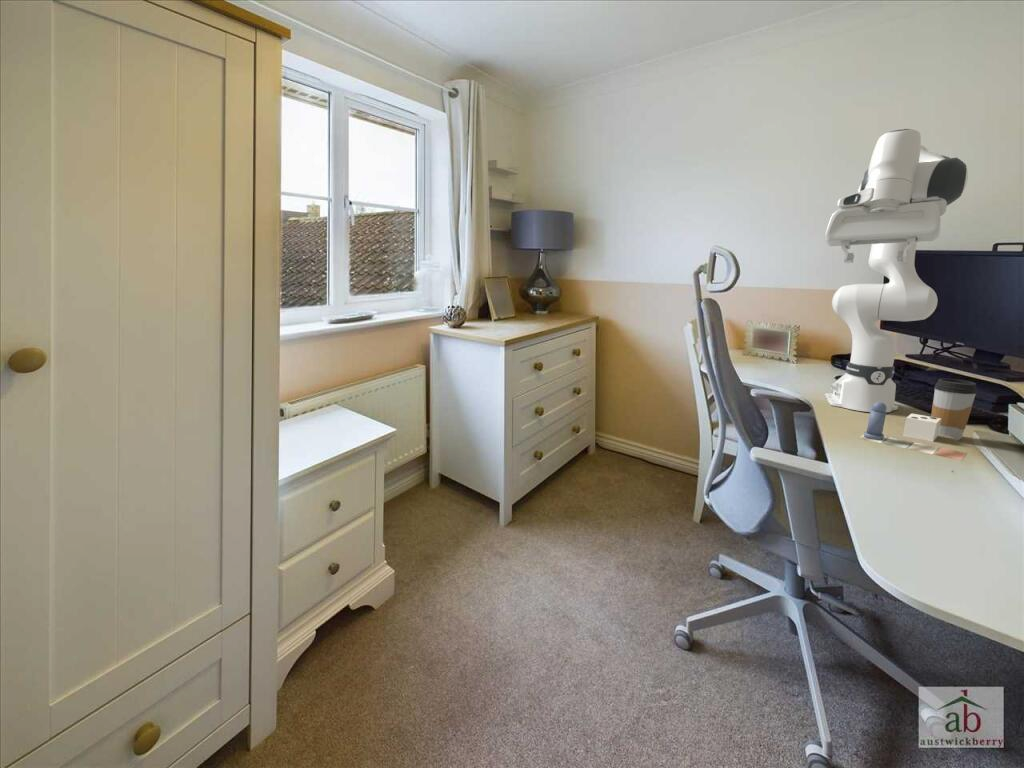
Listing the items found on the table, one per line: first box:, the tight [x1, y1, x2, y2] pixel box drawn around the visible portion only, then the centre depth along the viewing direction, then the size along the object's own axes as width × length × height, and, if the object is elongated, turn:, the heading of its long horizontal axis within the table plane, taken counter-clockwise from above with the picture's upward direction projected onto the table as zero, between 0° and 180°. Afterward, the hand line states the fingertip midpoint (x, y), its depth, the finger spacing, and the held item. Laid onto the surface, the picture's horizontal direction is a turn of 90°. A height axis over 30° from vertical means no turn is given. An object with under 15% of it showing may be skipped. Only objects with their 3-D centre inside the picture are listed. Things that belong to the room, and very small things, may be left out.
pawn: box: [863, 402, 887, 440], centre depth 123 cm, size 4×4×9 cm
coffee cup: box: [930, 378, 978, 441], centre depth 127 cm, size 8×8×15 cm
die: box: [902, 413, 941, 442], centre depth 125 cm, size 6×6×6 cm
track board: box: [858, 434, 967, 461], centre depth 118 cm, size 22×8×1 cm, turn 41°
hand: (874, 261), depth 107 cm, fingers open, 8 cm apart
